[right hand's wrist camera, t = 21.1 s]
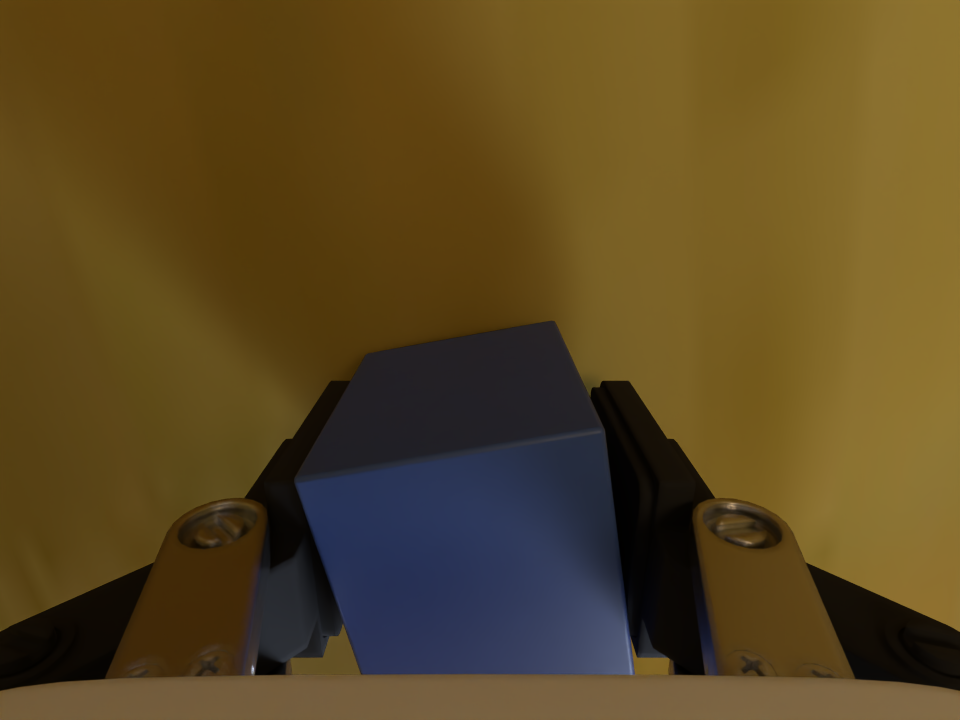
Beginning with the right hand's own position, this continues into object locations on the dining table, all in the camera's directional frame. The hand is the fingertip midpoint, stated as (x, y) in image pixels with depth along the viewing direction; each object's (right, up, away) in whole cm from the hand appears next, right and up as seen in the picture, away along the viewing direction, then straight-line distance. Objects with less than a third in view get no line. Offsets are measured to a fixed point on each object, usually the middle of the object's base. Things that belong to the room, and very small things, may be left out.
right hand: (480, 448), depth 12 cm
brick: (0, 0, +1) cm, 1 cm away
